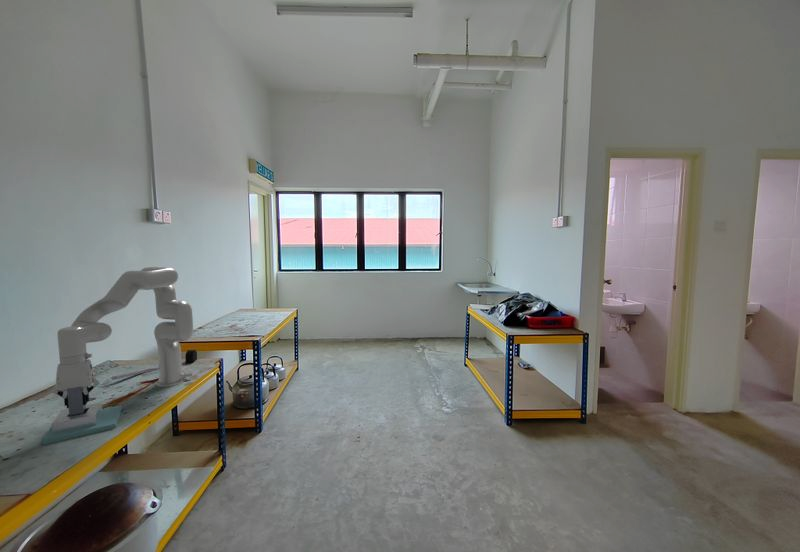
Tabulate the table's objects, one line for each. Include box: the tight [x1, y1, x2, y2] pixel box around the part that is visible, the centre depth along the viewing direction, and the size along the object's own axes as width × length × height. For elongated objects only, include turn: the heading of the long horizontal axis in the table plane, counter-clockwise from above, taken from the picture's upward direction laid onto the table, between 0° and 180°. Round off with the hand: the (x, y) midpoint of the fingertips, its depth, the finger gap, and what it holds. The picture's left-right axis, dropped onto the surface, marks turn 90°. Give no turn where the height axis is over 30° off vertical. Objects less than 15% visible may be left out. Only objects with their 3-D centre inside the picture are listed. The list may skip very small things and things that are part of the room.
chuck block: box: [41, 402, 124, 446], centre depth 133 cm, size 20×18×6 cm
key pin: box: [67, 386, 87, 417], centre depth 131 cm, size 4×4×12 cm
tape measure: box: [184, 349, 198, 364], centre depth 206 cm, size 15×4×8 cm, turn 13°
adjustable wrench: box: [111, 365, 159, 381], centre depth 182 cm, size 25×6×2 cm, turn 160°
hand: (77, 404), depth 131 cm, fingers closed on key pin, 4 cm apart
